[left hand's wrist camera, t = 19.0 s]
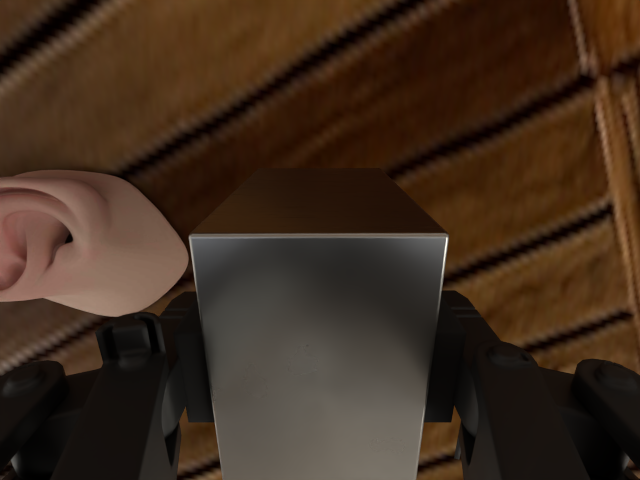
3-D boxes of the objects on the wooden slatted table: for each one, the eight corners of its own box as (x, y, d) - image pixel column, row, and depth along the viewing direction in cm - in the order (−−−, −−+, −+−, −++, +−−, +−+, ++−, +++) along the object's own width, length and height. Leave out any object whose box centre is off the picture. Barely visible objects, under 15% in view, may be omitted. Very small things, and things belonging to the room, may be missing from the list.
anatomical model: (187, 251, 19) (114, 384, 23) (209, 227, 23) (143, 345, 27) (-61, 114, 17) (-101, 287, 21) (8, 112, 21) (-36, 259, 24)
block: (380, 167, 15) (451, 233, 7) (372, 317, 17) (415, 491, 9) (257, 168, 15) (185, 233, 7) (267, 318, 17) (223, 491, 9)
